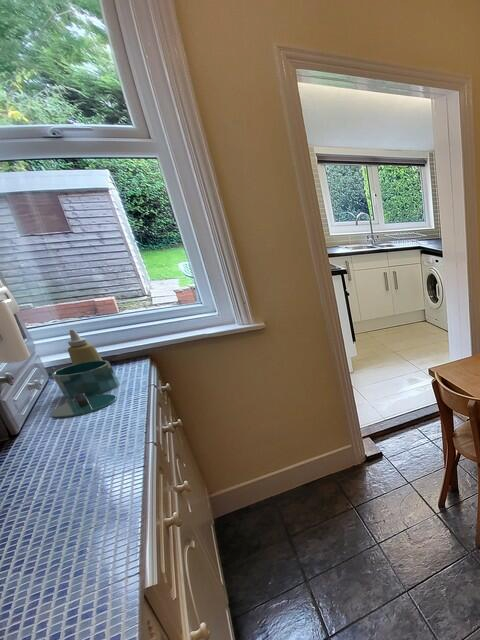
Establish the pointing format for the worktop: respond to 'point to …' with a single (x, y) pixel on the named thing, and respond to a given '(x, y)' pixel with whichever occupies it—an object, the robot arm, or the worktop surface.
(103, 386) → the pot
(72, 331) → the squeeze bottle
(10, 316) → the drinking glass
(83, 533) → the worktop surface
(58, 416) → the lid
